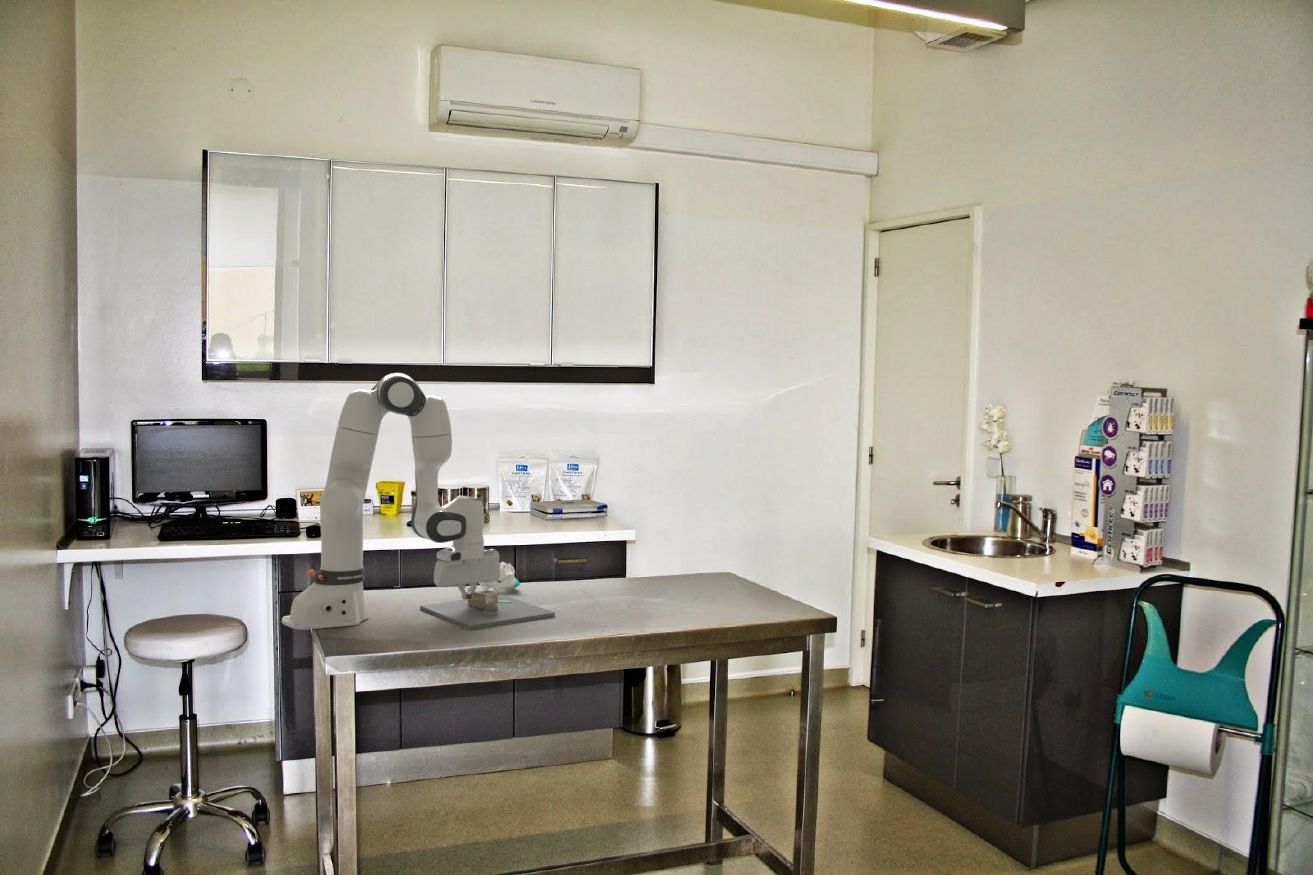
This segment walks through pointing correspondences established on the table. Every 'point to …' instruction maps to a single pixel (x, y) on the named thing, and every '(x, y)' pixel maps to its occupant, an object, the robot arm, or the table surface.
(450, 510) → the robot arm
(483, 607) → the brown rectangular block
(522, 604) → the board
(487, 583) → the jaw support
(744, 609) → the table surface
